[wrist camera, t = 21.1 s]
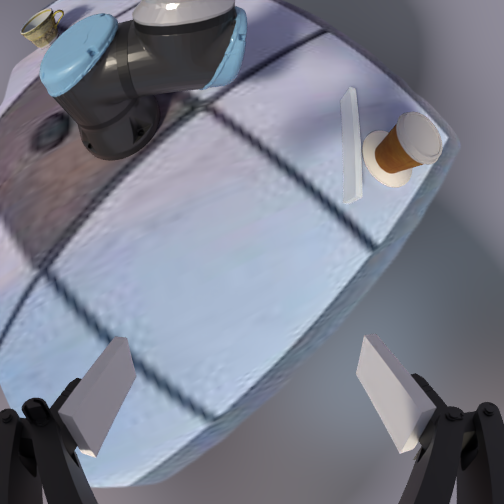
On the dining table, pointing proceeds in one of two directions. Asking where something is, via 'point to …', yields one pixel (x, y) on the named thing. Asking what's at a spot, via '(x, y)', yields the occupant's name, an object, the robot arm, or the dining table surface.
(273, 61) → the dining table surface
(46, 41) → the ceramic cup
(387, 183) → the mat
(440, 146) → the disposable coffee cup
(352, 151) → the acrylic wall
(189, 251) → the dining table surface
